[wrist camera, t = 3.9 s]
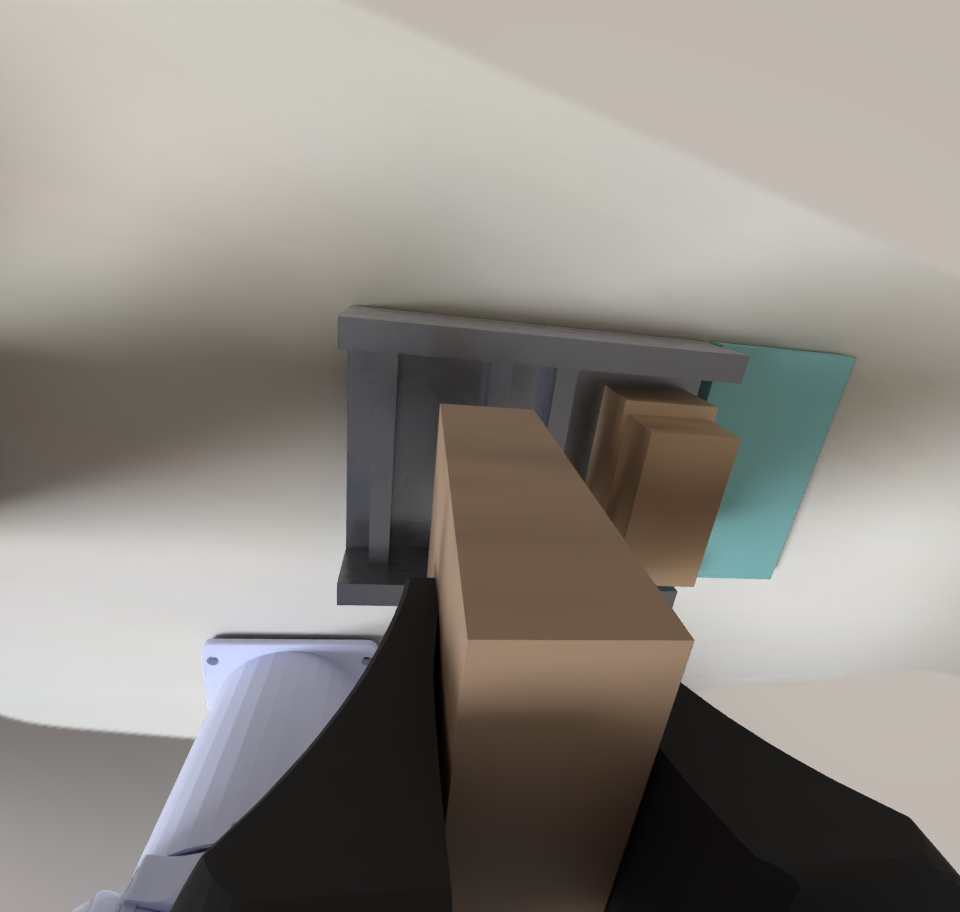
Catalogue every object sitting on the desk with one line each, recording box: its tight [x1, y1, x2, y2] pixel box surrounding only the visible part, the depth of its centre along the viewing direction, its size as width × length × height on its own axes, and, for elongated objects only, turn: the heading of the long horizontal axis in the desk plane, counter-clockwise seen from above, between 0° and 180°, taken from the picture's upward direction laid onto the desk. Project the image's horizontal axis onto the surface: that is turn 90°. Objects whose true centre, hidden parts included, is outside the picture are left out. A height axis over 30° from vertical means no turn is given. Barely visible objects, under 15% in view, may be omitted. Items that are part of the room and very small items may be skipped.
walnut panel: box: [427, 403, 694, 912], centre depth 11 cm, size 8×2×8 cm, turn 174°
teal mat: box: [697, 342, 856, 579], centre depth 23 cm, size 11×6×1 cm, turn 174°
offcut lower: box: [585, 385, 718, 513], centre depth 20 cm, size 7×4×2 cm, turn 174°
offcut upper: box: [606, 414, 741, 587], centre depth 18 cm, size 6×3×2 cm, turn 174°
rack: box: [337, 305, 750, 608], centre depth 20 cm, size 11×14×3 cm
